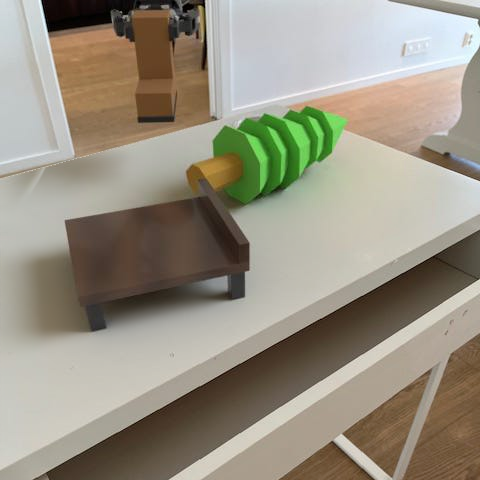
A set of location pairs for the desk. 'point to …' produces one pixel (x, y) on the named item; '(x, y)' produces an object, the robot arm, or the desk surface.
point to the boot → (154, 67)
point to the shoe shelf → (155, 250)
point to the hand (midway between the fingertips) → (151, 33)
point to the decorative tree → (267, 152)
